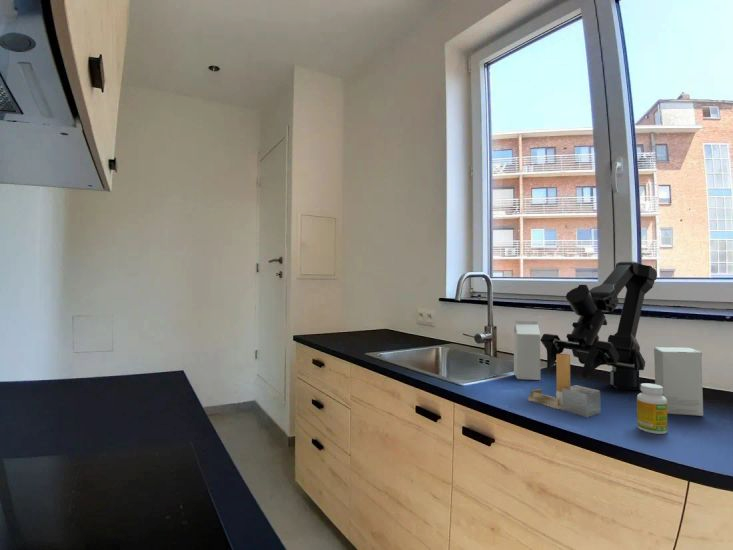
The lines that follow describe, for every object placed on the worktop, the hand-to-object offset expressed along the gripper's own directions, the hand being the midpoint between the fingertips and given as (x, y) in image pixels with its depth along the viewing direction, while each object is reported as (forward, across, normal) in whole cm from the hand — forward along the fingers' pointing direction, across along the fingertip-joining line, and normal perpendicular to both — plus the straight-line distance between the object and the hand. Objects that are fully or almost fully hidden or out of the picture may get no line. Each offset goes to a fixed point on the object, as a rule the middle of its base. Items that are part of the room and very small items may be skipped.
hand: (564, 373), depth 103 cm
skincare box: (-8, -18, -20) cm, 28 cm away
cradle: (+7, +3, -6) cm, 9 cm away
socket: (+7, -5, -6) cm, 10 cm away
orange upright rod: (+6, -2, -5) cm, 8 cm away
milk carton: (-6, +24, -19) cm, 31 cm away
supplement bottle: (+6, -20, -6) cm, 21 cm away
